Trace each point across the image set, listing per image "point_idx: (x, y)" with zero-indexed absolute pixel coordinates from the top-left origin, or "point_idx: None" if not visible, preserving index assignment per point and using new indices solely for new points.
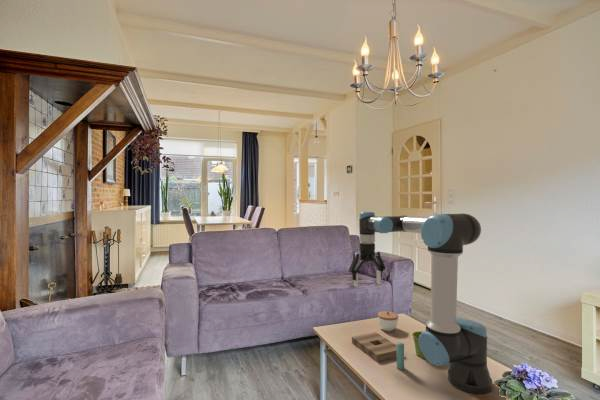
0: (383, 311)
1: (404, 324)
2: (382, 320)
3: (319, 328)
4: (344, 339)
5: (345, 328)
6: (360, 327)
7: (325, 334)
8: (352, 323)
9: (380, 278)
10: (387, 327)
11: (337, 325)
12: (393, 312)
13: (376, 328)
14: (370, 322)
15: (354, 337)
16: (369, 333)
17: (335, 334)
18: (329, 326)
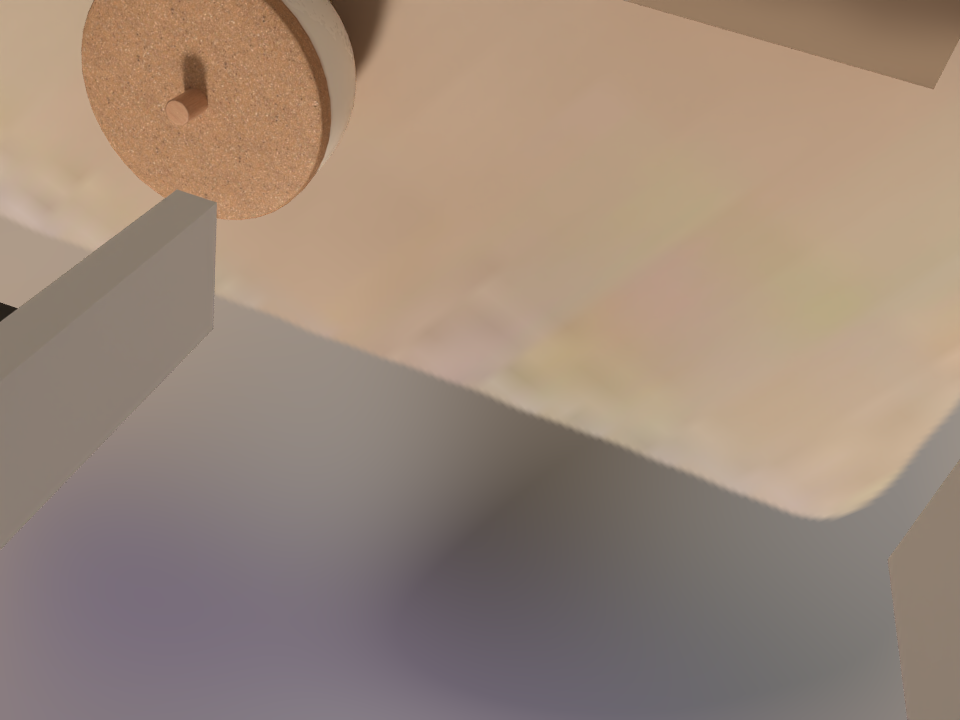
0: None
1: (48, 5)
2: (333, 78)
3: (843, 506)
4: (896, 186)
5: (642, 347)
6: (498, 264)
7: (930, 392)
8: (489, 371)
9: (90, 274)
10: (328, 1)
11: (645, 436)
12: (91, 97)
13: (378, 138)
14: (322, 271)
15: (929, 51)
16: (670, 8)
17: (851, 327)
18: (726, 471)
